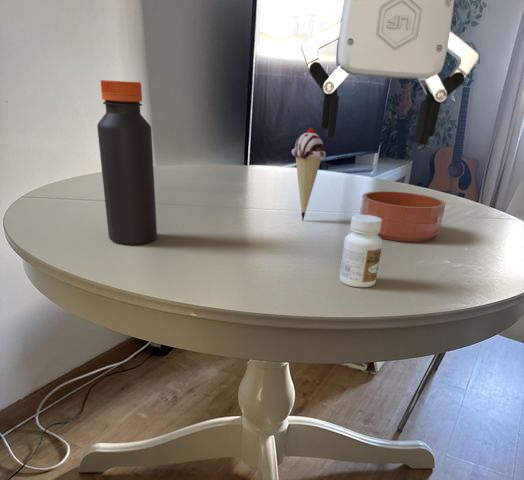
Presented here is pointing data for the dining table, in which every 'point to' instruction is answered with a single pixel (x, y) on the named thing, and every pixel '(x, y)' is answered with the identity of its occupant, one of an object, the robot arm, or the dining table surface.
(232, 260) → the dining table surface
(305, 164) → the ice cream cone
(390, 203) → the bowl
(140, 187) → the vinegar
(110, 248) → the dining table surface
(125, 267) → the dining table surface
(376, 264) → the pill bottle
